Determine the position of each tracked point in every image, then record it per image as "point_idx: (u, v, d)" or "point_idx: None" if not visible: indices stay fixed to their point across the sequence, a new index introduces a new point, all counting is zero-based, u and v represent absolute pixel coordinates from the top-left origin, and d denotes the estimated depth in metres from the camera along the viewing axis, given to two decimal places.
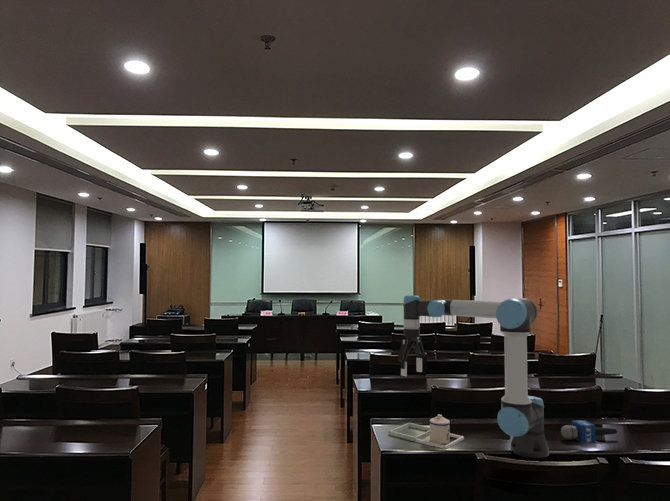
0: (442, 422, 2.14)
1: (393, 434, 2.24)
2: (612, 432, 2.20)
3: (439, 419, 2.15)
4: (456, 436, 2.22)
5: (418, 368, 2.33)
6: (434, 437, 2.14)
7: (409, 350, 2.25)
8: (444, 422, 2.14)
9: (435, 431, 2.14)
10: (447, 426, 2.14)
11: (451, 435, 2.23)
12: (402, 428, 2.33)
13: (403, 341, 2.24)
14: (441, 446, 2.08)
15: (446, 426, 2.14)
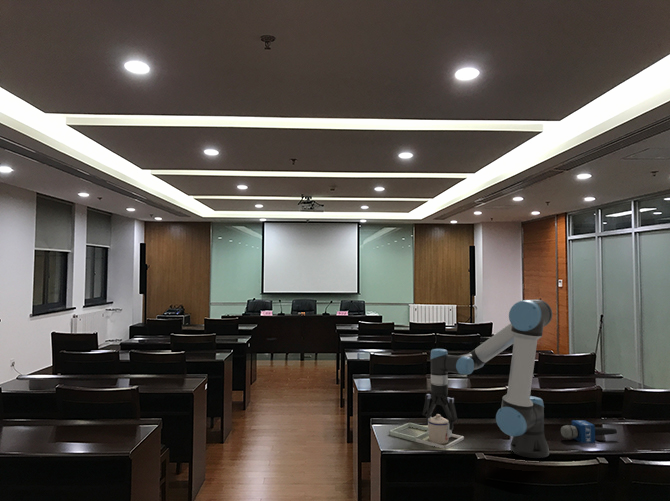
0: (441, 422, 2.14)
1: (393, 434, 2.24)
2: (612, 432, 2.20)
3: (438, 419, 2.16)
4: (456, 436, 2.22)
5: None
6: (433, 437, 2.14)
7: (432, 406, 2.20)
8: (443, 422, 2.14)
9: (433, 430, 2.14)
10: (446, 426, 2.14)
11: None
12: (402, 428, 2.33)
13: None
14: (441, 446, 2.08)
15: (445, 426, 2.14)
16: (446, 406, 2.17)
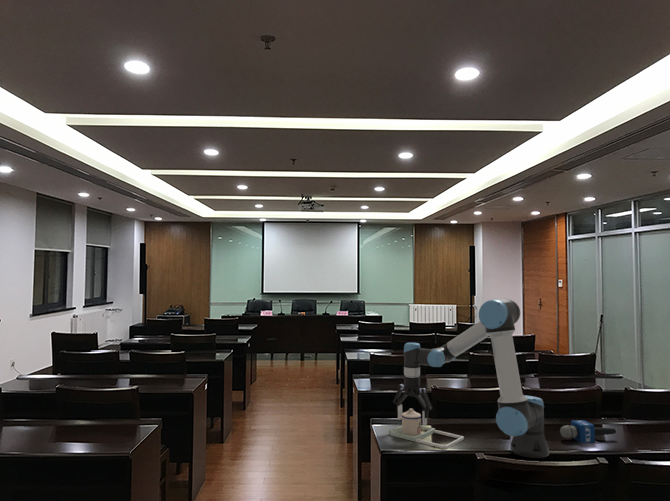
0: (413, 416, 2.23)
1: (393, 434, 2.24)
2: (611, 432, 2.20)
3: (410, 413, 2.25)
4: (456, 436, 2.22)
5: None
6: (405, 430, 2.24)
7: (403, 396, 2.30)
8: (415, 416, 2.24)
9: (406, 424, 2.24)
10: (418, 419, 2.24)
11: (451, 435, 2.23)
12: None
13: None
14: (441, 446, 2.08)
15: (417, 419, 2.23)
16: (419, 396, 2.26)
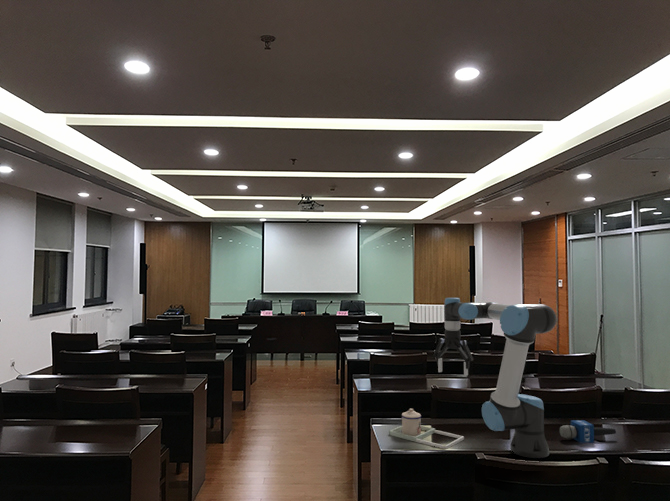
0: (413, 416, 2.23)
1: (393, 434, 2.24)
2: (611, 433, 2.20)
3: (410, 413, 2.25)
4: (456, 436, 2.22)
5: None
6: (405, 430, 2.24)
7: (444, 349, 2.37)
8: (415, 416, 2.24)
9: (406, 424, 2.24)
10: (418, 419, 2.24)
11: (451, 435, 2.23)
12: None
13: None
14: (441, 446, 2.08)
15: (417, 419, 2.23)
16: (460, 348, 2.33)
